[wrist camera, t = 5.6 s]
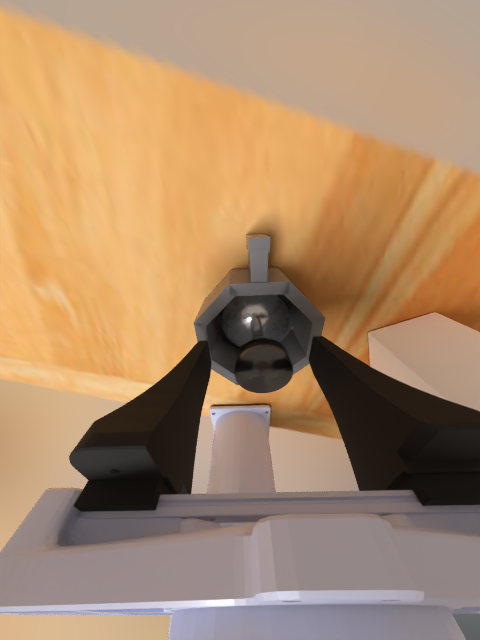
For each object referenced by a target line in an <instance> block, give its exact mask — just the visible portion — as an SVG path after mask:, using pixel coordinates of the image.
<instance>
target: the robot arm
mask: <svg viewBox="0 0 480 640" xmlns="http://www.w3.org/2000/svg"><path fill="white" fill-rule="evenodd" d="M308 360H309V363H310V366H311V368H312V371H313V374H314V376H315V378H316V380H317V382H318V384H319V386H320V388H321V389H322V391H323V393H324V395H325V397H326V399H327V401H328V403H329V405H330V407H331V410H332V412H333V415H334V417H335V420H336V422H337V425H338V427H339V430H340V433H341V436H342V438H343V441H344V443H345V447H346V450H347V453H348V456H349V458H350V461H351V465H352V468H353V471H354V474H355V477H356V481H357V484H358V488H359V491H330V492H281V493H280V492H277V493H276V491H275V483H274V476H273V469H272V461H271V454H270V446H269V439H268V438H269V425H270V411H271V409H270V406H269V405H249V406H215V407H210V410H209V412H210V416H211V421H212V425H213V430H214V440H213V447H212V455H211V464H210V472H209V481H208V488H207V494H191V488H192V479H193V470H194V461H195V453H196V445H197V437H198V430H199V423H200V417H201V411H202V406H203V402H204V398H205V394H206V390H207V386H208V382H209V378H210V372H211V364H212V362H211V356H210V350H209V344H208V340H207V341H198V343H197V344H196V345H195V346H194V347H193V348H192V349H191V350H190V352H189V353H188V354H187V355H186V356H185V357H184V358H183V359H182V360H181V361H180V362H179V363H178V364H177V365H176V366H175V367H174V368H173V369H172V370H171V371H170V372H169V373H168V374H167V375H166V376H165V377H163V378H162V379H161V380H160V381H158V382H157V383H156V384H155V385H153V386H152V387H150V388H149V389H148V390H146V391H145V392H144V393H142V394H141V395H139V396H138V397H136V398H135V399H133V400H131V401H130V402H128V403H127V404H125V405H123V406H122V407H120V408H118V409H116V410H115V411H113V412H111V413H109V414H108V415H106V416H104V417H102V418H100V419H98V420H96V421H95V422H94V423H93V424H92V425H91V427H90V428H89V430H88V431H87V432H86V434H85V435H84V436H83V438H82V439H81V440H80V442H79V443H78V445H77V446H76V447H75V448H74V450H73V451H72V452H71V454H70V456H69V459H70V463H71V464H72V466H73V467H74V468H75V469H76V470H78V471H79V472H80V473H81V474H82V475H83V476H85V477H86V478H87V479H88V480H89V481H88V482H87V484H86V486H85V487H84V489H83V490H82V489H78V488H49V489H47V490H45V492H44V493H43V494H42V496H41V497H40V499H39V500H38V501H37V503H36V504H35V505H34V507H33V508H32V510H31V511H30V512H29V514H28V515H27V516H26V518H25V519H24V521H23V522H22V524H21V525H20V526H19V527H18V529H17V530H16V531H15V533H14V534H13V536H12V537H11V538H10V540H9V541H8V542H7V544H6V545H5V547H4V548H3V549H2V551H1V552H0V614H19V615H22V614H23V615H27V614H28V615H29V614H83V615H84V614H85V615H86V614H88V615H91V614H93V615H97V614H98V615H99V614H100V615H171V617H170V625H169V634H168V640H466V639H465V637H464V635H463V634H462V632H461V630H460V628H459V626H458V625H457V623H456V621H455V619H454V617H453V616H452V613H480V411H478V410H475V409H472V408H469V407H466V406H463V405H460V404H457V403H454V402H451V401H448V400H445V399H443V398H440V397H437V396H435V395H432V394H429V393H427V392H424V391H422V390H419V389H417V388H414V387H412V386H409V385H407V384H405V383H403V382H400V381H398V380H396V379H394V378H392V377H390V376H387V375H385V374H384V373H382V372H380V371H378V370H376V369H374V368H372V367H370V366H368V365H367V364H365V363H363V362H362V361H360V360H358V359H357V358H355V357H353V356H352V355H350V354H349V353H347V352H346V351H344V350H342V349H341V348H339V347H338V346H337V345H335V344H334V343H332V342H331V341H329V340H328V339H326V338H324V337H323V336H314V337H313V339H312V344H311V349H310V354H309V359H308Z"/></svg>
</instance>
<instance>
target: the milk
mask: <svg viewBox="0 0 480 640" xmlns="http://www.w3.org/2000/svg"><path fill="white" fill-rule="evenodd" d="M368 344H369V361H370V367H372V368H374V369H376V370H378V371H380V372H382V373H384V374H385V375H387V376H390V377H392V378H394V379H396V380H398V381H400V382H403V383H405V384H407V385H409V386H412V387H414V388H417V389H419V390H422V391H424V392H427V393H429V394H432V395H435V396H437V397H440V398H443V399H445V400H448V401H451V402H454V403H457V404H460V405H463V406H466V407H469V408H472V409H475V410H478V411H480V332H478V331H476V330H474V329H472V328H469V327H467V326H465V325H463V324H461V323H458V322H456V321H454V320H452V319H449V318H447V317H445V316H443V315H441V314H438V313H436V312H433V313H430V314H427V315H423V316H420V317H417V318H413V319H410V320H407V321H404V322H400V323H397V324H394V325H390V326H387V327H384V328H381V329H377V330H374V331H371V332H368Z"/></svg>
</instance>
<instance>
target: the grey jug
mask: <svg viewBox="0 0 480 640" xmlns="http://www.w3.org/2000/svg"><path fill="white" fill-rule="evenodd" d="M246 240H247V249H248V269H231V271H230V272H229V273H228V274H227V275H226V276H225V277H224V279H223V280H222V281H221V282H220V283H219V284H218V285H217V287H216V288H215V289H214V290H213V291H212V292H211V293H210V295H209V296H208V297H207V298H206V299H205V300H204V302H203V304H202V306H201V309H200V311H199V313H198V315H197V317H196V319H195V322H194V326H195V331H196V336H197V341H207V340H208V344H209V350H210V356H211V362H212V364H211V369H212V370H214V371H215V372H217V373H219V374H220V375H222V376H223V377H225V378H227V379H228V380H230V381H231V382H233V383H235V384H236V385H239V384H238V382H237V381H236V378H235V357H236V353H237V351H238V350H239V348H240V347H239V346H237V345H235V344H234V343H232V342H231V341H230V340H229V339H228V338H227V336H226V335H225V333H224V331H223V328H222V315H223V311H224V308H225V306H226V305H227V304H228V303H229V302H230V301H231V300H232V299H233V298H234V297H235V296H254V295H278V296H279V297H280V298H281V299H282V300H283V301H284V303H285V304H286V306H287V308H288V311H289V315H290V322H289V327H288V329H287V331H286V333H285V335H284V336H283V337H282V338H281V339H280V340H279V341H278V342H279V343H281V344H282V345H283V346H284V347H285V348H286V350H287V353H288V355H289V358H290V361H291V363H292V366H293V374H295V373H296V372H298V371H299V370H301V369H302V368H303V367H305V366H306V365H308V364H309V360H308V359H309V354H310V349H311V344H312V339H313V337H314V336H321V334H322V329H323V325H324V320H325V317H324V316H323V315H322V314H321V313H320V312H319V311H318V309H317V308H316V307H315V306H314V305H313V304H312V303H311V302H310V301H309V300H308V299H307V297H306V296H305V295H304V294H303V293H302V292H301V291H300V290H299V289H298V288H297V287H296V286H295V285H294V284H293V283H292V282H291V281H290V280H289V279H288V278H287V277H286V276H285V275H284V274H283V273H282V271H281V270H280V269H279V268H278V267H271V268H268V252H270V237H269V236H267V235H265V234H247V235H246ZM294 305H295V306H294ZM291 328H292V330H291ZM217 329H218V331H219V333H218V332H217Z"/></svg>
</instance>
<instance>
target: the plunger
mask: <svg viewBox="0 0 480 640" xmlns="http://www.w3.org/2000/svg"><path fill="white" fill-rule="evenodd" d="M289 322H290V315H289V311H288V308H287V306H286V304H285V303H284V301H283V300H282V299H281V298H280V297H279V296H278V295H254V296H235V297H234V298H233V299H232V300H231V301H230V302H229V303H228V304H227V305H226V306H225V308H224V311H223V315H222V328H223V331H224V333H225V335H226V336H227V338H228V339H229V340H230V341H231V342H232V343H234V344H235V345H237V346H239V347H240V348H239V350H238V351H237V353H236V357H235V378H236V381H237V382H238V384H239V385H240V386H241V387H243V388H244V389H246V390H248V391H251V392H255V393H269V392H273V391H276V390H279V389H281V388H282V387H284V386H285V385H286V384H287V383H288V382H289V381H290V379H291V378H292V375H293V366H292V363H291V361H290V358H289V355H288V353H287V350H286V348H285V347H284V346H283V345H282V344H281V343H279V342H278V341H279V340H280V339H281V338H282V337H283V336H284V335H285V333H286V331H287V329H288V327H289Z"/></svg>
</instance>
